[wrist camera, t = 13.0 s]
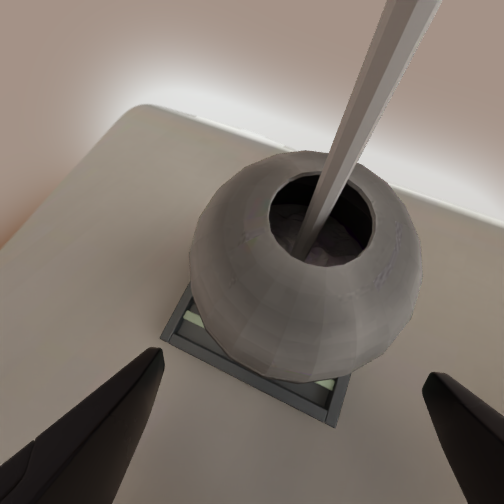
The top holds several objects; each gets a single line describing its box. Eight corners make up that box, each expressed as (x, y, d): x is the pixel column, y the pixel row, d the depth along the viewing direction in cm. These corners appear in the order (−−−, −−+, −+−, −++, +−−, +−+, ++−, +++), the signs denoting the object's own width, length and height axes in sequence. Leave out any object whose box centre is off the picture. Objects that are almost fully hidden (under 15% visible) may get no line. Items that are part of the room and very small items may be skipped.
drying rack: (372, 276, 21) (380, 271, 20) (329, 421, 18) (335, 429, 16) (229, 218, 24) (228, 210, 22) (166, 338, 20) (158, 338, 19)
